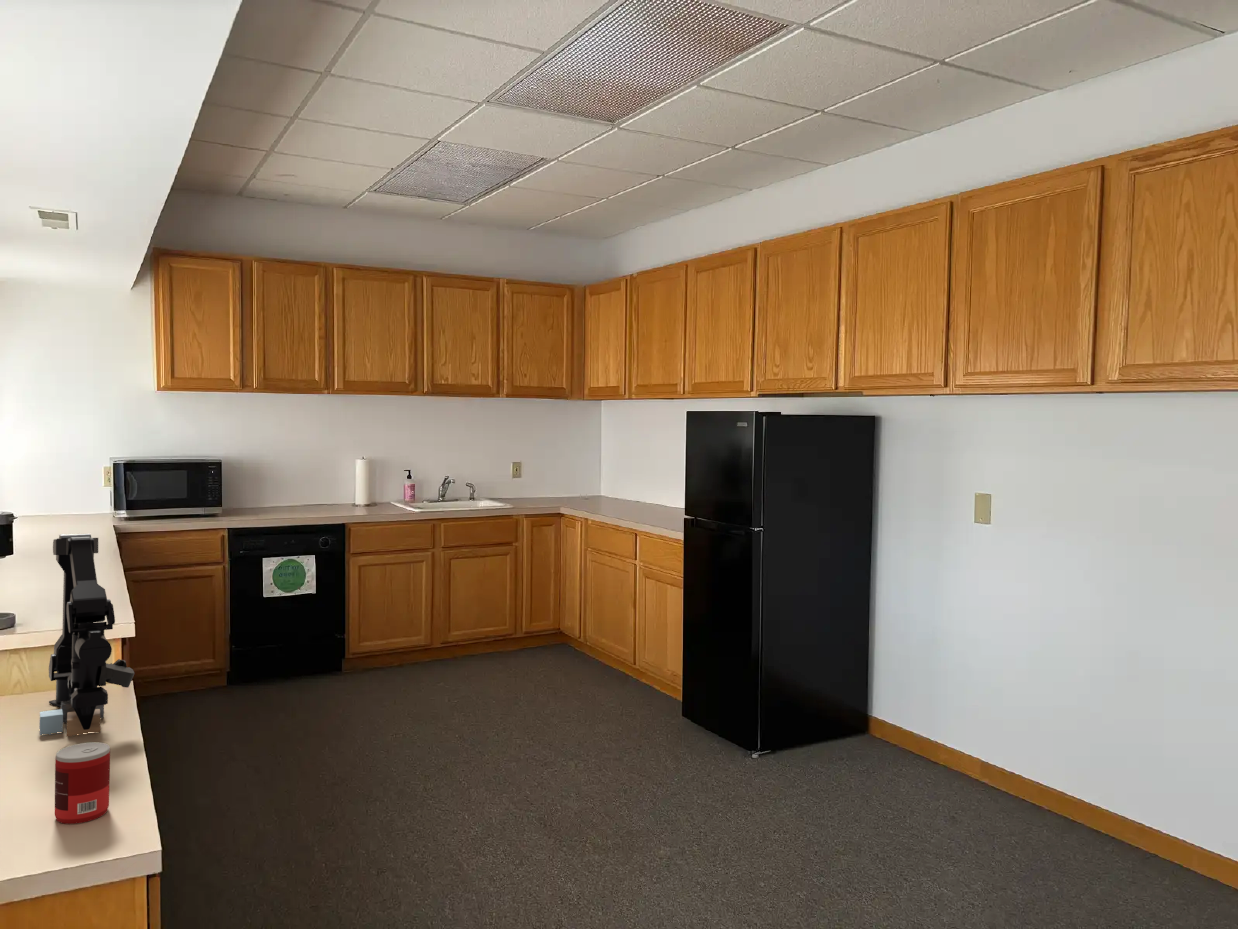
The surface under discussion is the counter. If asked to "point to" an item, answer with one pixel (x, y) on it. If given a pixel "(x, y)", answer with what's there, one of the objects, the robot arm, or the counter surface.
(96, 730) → the brown square block
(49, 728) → the block
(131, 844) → the counter surface
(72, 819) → the canned food
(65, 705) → the block
